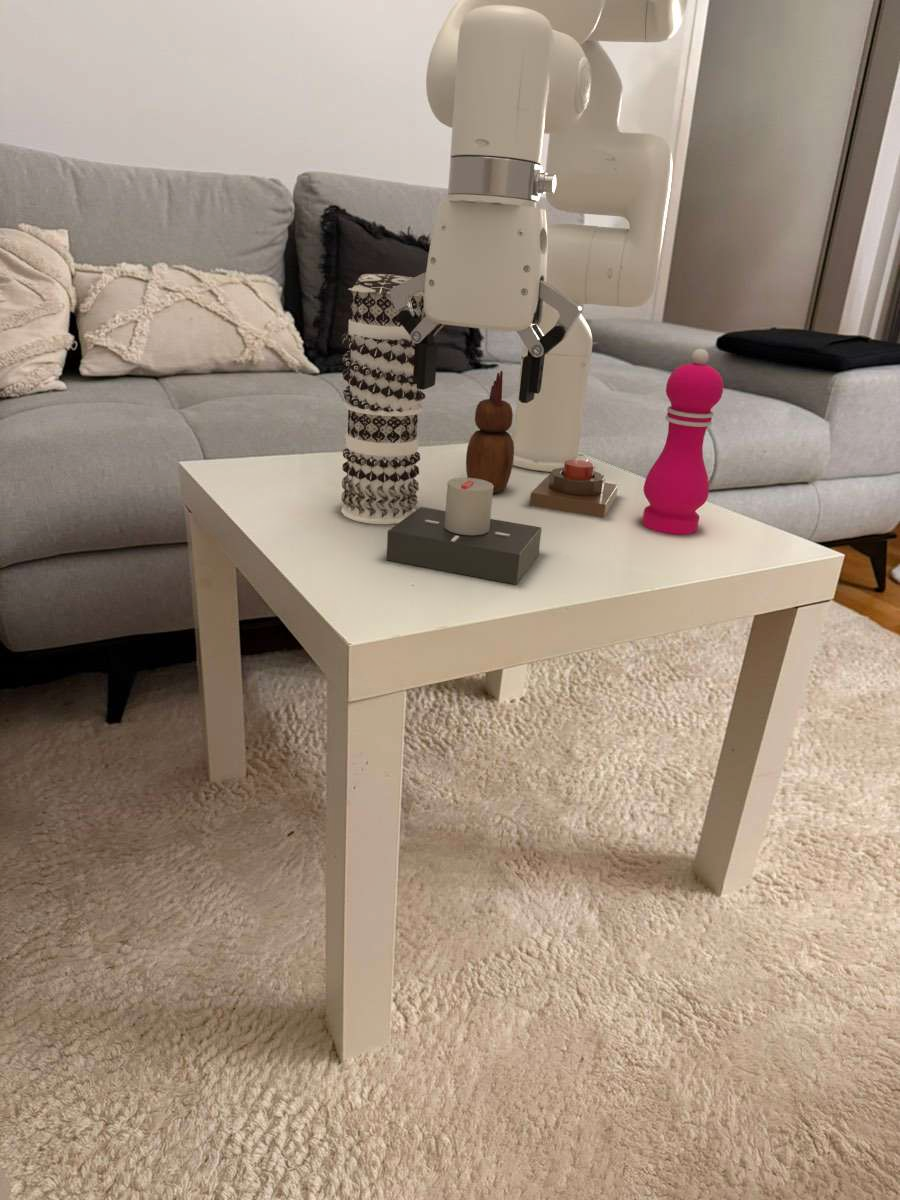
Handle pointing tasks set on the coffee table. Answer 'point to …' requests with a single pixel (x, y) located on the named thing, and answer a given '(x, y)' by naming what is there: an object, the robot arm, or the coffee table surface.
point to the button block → (574, 494)
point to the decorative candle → (380, 405)
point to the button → (578, 469)
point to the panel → (464, 547)
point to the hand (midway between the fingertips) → (475, 394)
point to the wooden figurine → (492, 440)
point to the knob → (468, 506)
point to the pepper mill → (683, 449)
